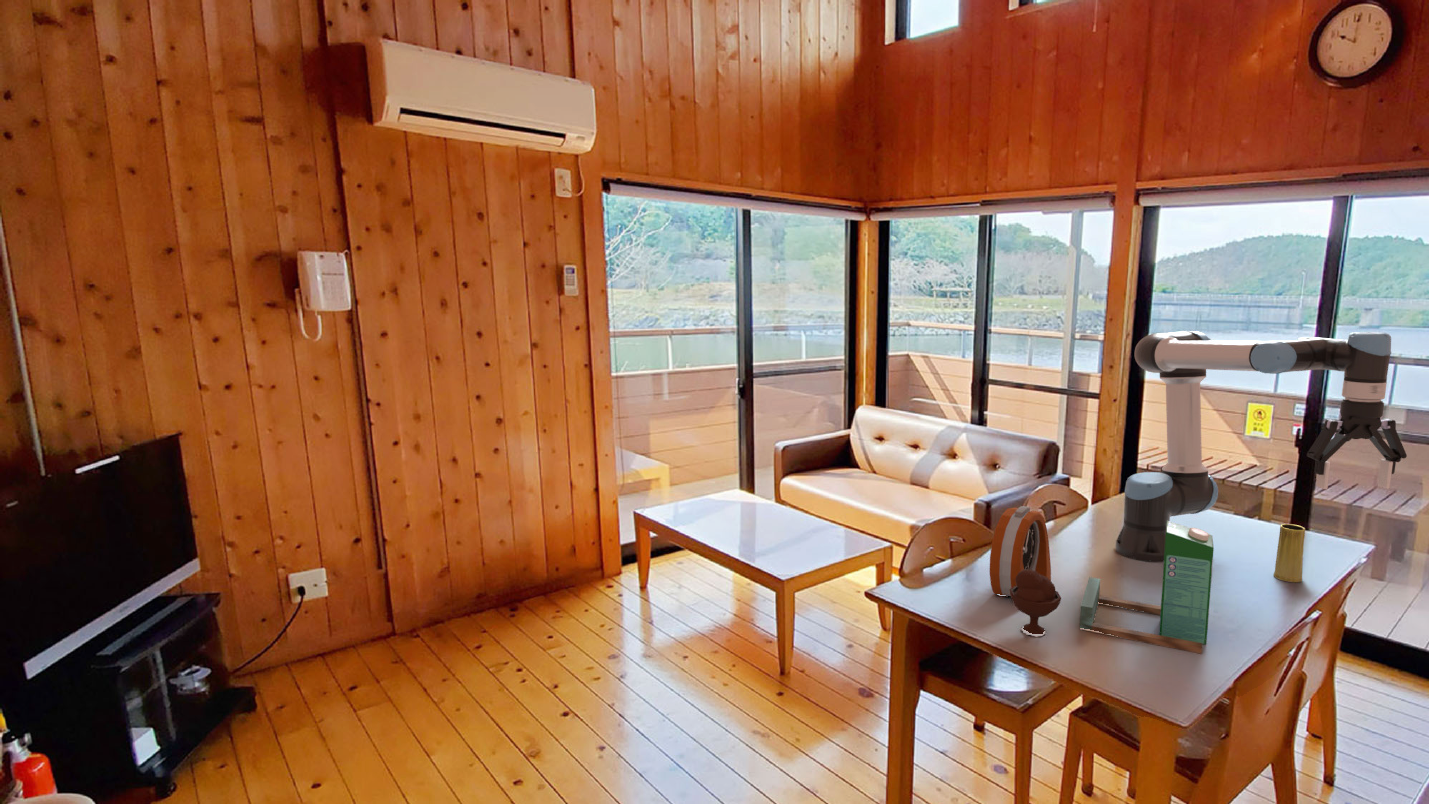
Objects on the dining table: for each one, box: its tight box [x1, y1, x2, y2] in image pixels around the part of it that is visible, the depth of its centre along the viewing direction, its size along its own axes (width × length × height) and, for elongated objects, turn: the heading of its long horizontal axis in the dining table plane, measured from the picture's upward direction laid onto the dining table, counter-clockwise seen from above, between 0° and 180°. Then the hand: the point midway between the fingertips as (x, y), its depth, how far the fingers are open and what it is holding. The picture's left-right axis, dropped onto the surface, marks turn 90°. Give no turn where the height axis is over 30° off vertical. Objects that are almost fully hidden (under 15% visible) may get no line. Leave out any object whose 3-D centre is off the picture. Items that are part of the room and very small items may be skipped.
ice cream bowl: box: [1009, 569, 1062, 634], centre depth 172 cm, size 11×11×15 cm
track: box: [1079, 576, 1203, 654], centre depth 174 cm, size 24×19×6 cm
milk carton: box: [1158, 520, 1215, 645], centre depth 168 cm, size 9×9×25 cm
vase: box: [1273, 523, 1306, 583], centre depth 196 cm, size 6×6×14 cm
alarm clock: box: [989, 505, 1052, 597], centre depth 194 cm, size 22×10×23 cm, turn 137°
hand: (1352, 487), depth 175 cm, fingers open, 13 cm apart
